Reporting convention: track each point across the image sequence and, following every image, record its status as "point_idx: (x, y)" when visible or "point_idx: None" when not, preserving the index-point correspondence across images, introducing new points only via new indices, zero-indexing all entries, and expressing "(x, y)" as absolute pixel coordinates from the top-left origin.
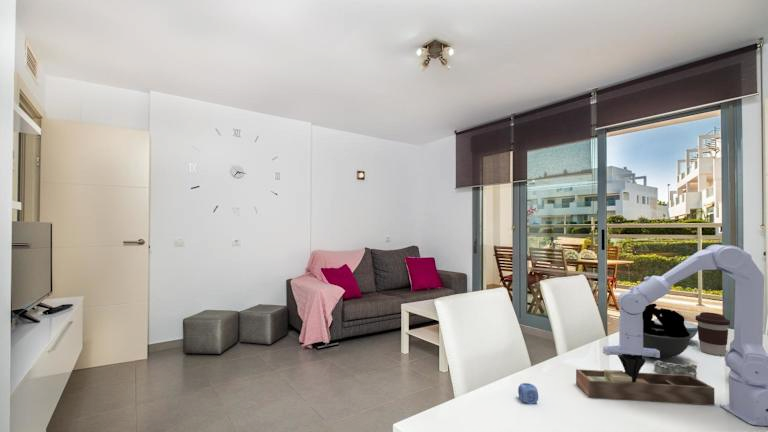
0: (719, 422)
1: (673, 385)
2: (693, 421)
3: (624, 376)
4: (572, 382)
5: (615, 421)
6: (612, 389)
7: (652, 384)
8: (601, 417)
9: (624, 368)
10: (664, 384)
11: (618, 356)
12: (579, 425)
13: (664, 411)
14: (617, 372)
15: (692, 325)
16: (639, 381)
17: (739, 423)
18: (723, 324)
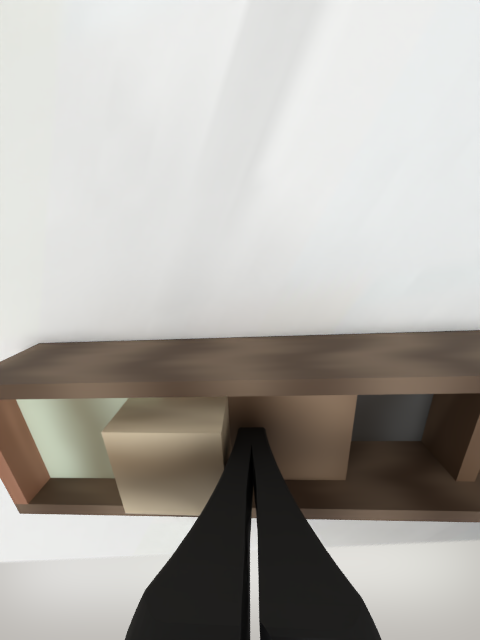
0: (413, 533)
1: (429, 515)
2: (335, 533)
3: (191, 508)
4: (24, 324)
5: (118, 545)
6: None
7: (318, 514)
8: (88, 533)
9: (221, 483)
10: (387, 511)
11: (150, 590)
12: (30, 560)
13: None
14: (174, 464)
15: None
16: (311, 411)
17: (473, 533)
18: None
